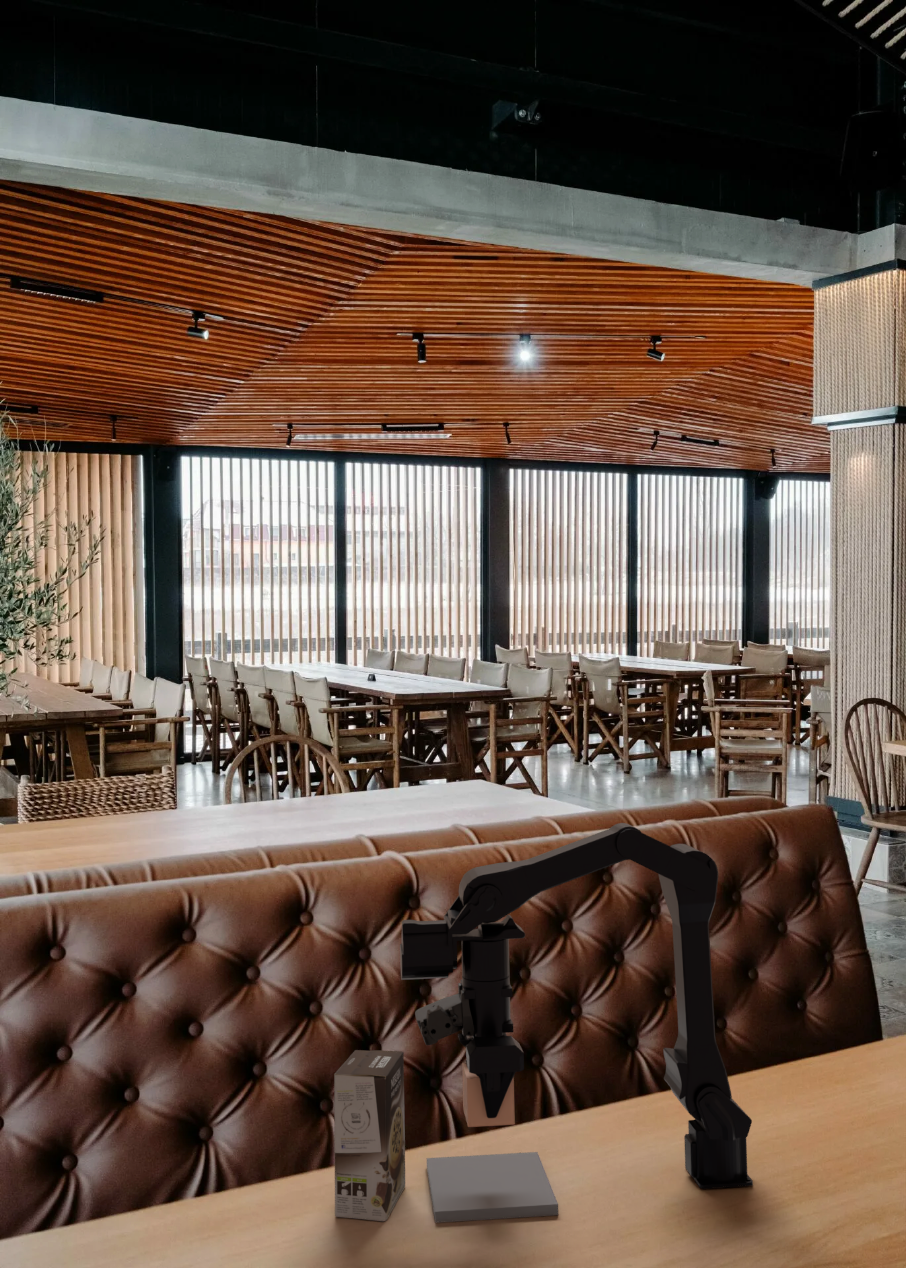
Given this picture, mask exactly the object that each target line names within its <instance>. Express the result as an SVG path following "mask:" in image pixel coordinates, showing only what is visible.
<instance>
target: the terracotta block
mask: <svg viewBox="0 0 906 1268" xmlns="http://www.w3.org/2000/svg"><path fill="white" fill-rule="evenodd" d="M514 1078H515V1076H514V1077H513V1079H512V1081H511V1083H510V1086H509V1088H508V1090H507V1093H506V1095H505V1097H504V1100H503V1102H502V1105H501V1107H500V1110H499V1112H498V1115H497V1117H496V1118H488V1117H487V1115H486V1110H485V1105H484V1100H483V1095H482V1090H481V1085H480V1080H479V1077H478V1076H477V1075H476V1074H473V1073H470V1072H469V1069H468V1067H467V1064H466V1062H462V1104H463V1106H462V1109H463V1110H462V1111H463V1113H464V1116H465V1117H464V1118H465V1121H466V1123H467V1124H466V1125H467V1127H468V1128H476V1127H493V1126H511V1125H515V1124H516V1120H515V1081H514V1080H515V1079H514Z"/></svg>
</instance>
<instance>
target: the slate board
mask: <svg viewBox="0 0 906 1268" xmlns="http://www.w3.org/2000/svg"><path fill="white" fill-rule="evenodd" d="M426 1171H427V1172H426V1173H427V1180H428V1183H429V1184H428V1185H429V1186H428V1187H429V1192H430V1198H431V1205H432V1210H433V1218H434V1223H435V1224H436V1223H437V1224H438V1223H451V1222H453V1223H454V1222H468V1221H484V1220H499V1219H500V1220H501V1219H514V1218H515V1219H516V1218H518V1219H519V1218H530V1217H531V1218H534V1217H547V1216H548V1217H549V1216H550V1217H551V1216H559V1202H558V1200H557V1198H556V1196H555V1192H554V1190H553V1187H552V1185H551V1182H550V1179H549V1177H548V1176H547V1172H546V1170H545V1167H544V1164H543V1162H542V1159H541V1157H540V1154H539V1153H538V1151H530V1152H511V1153H494V1154H478V1155H473V1154H472V1155H460V1156H456V1155H455V1156H441V1157H427V1158H426Z"/></svg>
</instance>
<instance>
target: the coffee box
mask: <svg viewBox="0 0 906 1268" xmlns="http://www.w3.org/2000/svg"><path fill="white" fill-rule="evenodd" d="M404 1053H405V1052H404V1051H403V1050H402V1051H399V1050H374V1049H373V1050H363V1049H362V1050H361V1049H359V1050H358V1049H355V1050H354V1051H353V1052H352V1053H351V1054H350V1055H349V1057H348V1058H347V1059H346V1061H344V1063H342V1064H341V1066H340V1067H339V1068H338V1069H337V1070H336V1072H335V1073H334V1074H333V1075H334V1076H333V1077H334V1081H333V1083H334V1084H333V1085H334V1088H333V1090H334V1093H333V1095H334V1096H333V1097H334V1099H333V1101H334V1105H333V1106H334V1107H333V1108H334V1109H333V1110H334V1112H333V1113H334V1115H333V1117H334V1123H333V1124H334V1132H333V1133H334V1135H333V1136H334V1216H335V1217H337V1218H346V1219H347V1218H349V1219H357V1220H365V1221H366V1220H368V1221H376V1222H377V1221H378V1222H385V1221H387V1220H388V1218H389V1217H390V1214H391V1213H392V1211H393V1209H394V1207H395V1206H396V1204H397V1202H398V1201H399V1198H400V1197H401V1195H402V1193H403V1191H404V1189H405V1187H406V1147H405V1146H406V1140H405V1137H406V1135H405V1133H406V1132H405V1130H406V1129H405V1068H404V1067H405V1066H404V1064H405V1062H404V1056H405V1055H404Z"/></svg>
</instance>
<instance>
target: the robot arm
mask: <svg viewBox="0 0 906 1268" xmlns="http://www.w3.org/2000/svg"><path fill="white" fill-rule="evenodd" d="M624 861H631V862H634V863H636V864H638V865H639V866H642V867H644V868H645V869H648V870H650V871H652V872H654V873H657V874H658V878H659V879H658V880H659V884H660V888H661V891H662V895H663V898H664V902H665V904H666V907H667V909H668V912H669V915H670V917H671V918H670V919H671V924H672V925H671V926H672V938H673V939H672V941H673V958H674V978H675V993H676V1011H677V1027H678V1029H677V1030H678V1033H677V1038H676V1042H675V1044H674V1046H673V1048H671V1047H663V1048H662V1049H663V1050H662V1051H663V1057H664V1061H665V1065H666V1066H665V1074H664V1076H663V1080H664V1081H665V1082H666V1083H667V1085H668V1087H670V1089H671V1092H672V1093H673V1095H674V1096H675V1098H676V1099H677V1100H678V1101H679V1103H680V1104H681V1106H683V1107H684V1109H685V1110H686V1111H687V1113H688V1114H689V1115H690V1116H691V1117H692V1118H693V1119H689V1120H687V1123H688V1127H687V1128H688V1133H685V1135H683V1136H684V1168H685V1169H686V1171H687V1172H688V1174H689V1175H690V1177H692V1178H693V1181H694V1182H695V1183H696V1184H697V1186H698V1187H699V1188H701V1189H705V1190H706V1189H721V1188H723V1189H724V1188H735V1187H736V1188H737V1187H738V1188H739V1187H751V1186H754V1184H753V1183H754V1182H753V1181H754V1180H753V1179H752V1178H751V1176H750V1175H749V1174H748V1158H747V1157H748V1149H747V1137H748V1136H749V1134H750V1129H751V1126H752V1122H753V1121H752V1119H751V1117H750V1116H749V1115H748V1114H747V1113H746V1112H745V1111H744V1110H743V1109H742V1108H741V1106H739V1105H738V1103H737V1102H736V1101H735V1100H734V1099H733V1096H732V1090H731V1086H730V1082H729V1077H728V1073H727V1069H726V1066H725V1063H724V1061H723V1057H722V1055H721V1052H720V1050H719V1047H718V1043H717V1040H716V1028H715V1027H716V1026H715V1009H714V995H713V994H714V992H713V990H714V989H713V977H712V976H713V975H712V959H711V942H710V920H711V918H712V913H713V911H714V908H715V905H716V902H717V893H718V883H719V869H718V865H717V863H716V861H715V860H713V858H712V857H710V855H709V854H708V853H706V852H703V851H701V850H698V849H697V848H695V847H693V846H691V845H688V844H686V843H676V844H671V845H669V844H667V843H664V842H662V841H660V840H658V839H656V838H653V837H652V836H649V835H648V834H645V833H643V832H642V831H641V830H640V829H639V828H637V827H634V826H633V825H631V824H629V823H625V822H620V823H616V824H614V825H612V826H611V827H610V828H607V829H605V830H603V831H601V832H600V831H599V832H598V833H595V834H591V835H589V836H587V837H584V838H580V839H578V840H576V841H573V842H571V843H570V842H569V843H568V844H565V845H562V846H560V847H557V848H554V849H552V850H548V851H545V852H544V853H541V854H539V855H536V856H533V857H530V858H528V859H523V860H517V861H506V862H505V861H503V862H498V863H492V864H486V865H480V866H476V867H473V868H471V869H469V870H467V872H465V873H464V874H463V876H462V878H461V880H460V883H459V885H458V895H457V897H456V898H455V900H454V901H453V903H452V904H451V905H450V907H449V908H448V909H447V911H446V913H445V914H444V916H443V919H439V920H438V919H437V920H436V919H435V920H416V919H415V920H414V919H403V920H402V921H401V943H400V944H399V956H400V957H399V964H400V965H399V966H400V980H401V981H403V980H404V981H405V980H424V979H446V978H449V974H453V973H454V970H455V969H457V968H458V942H461V979H460V981H459V982H458V983H457V993H456V994H453V995H451V996H447V997H443V998H440V999H438V1000H436V1001H434V1002H432V1003H429V1004H427V1005H425V1006H422V1007H419V1008H418V1009H416V1010H415V1012H414V1015H415V1019H416V1020H415V1021H416V1023H417V1026H418V1028H419V1031H420V1033H421V1036H422V1039H423V1041H424V1043H425V1045H426V1046H433V1045H434V1044H436V1043H438V1041H440V1040H442V1039H444V1038H446V1037H449V1036H452V1035H455V1034H456V1033H458V1032H460V1031H461V1033H458V1034H457V1037H458V1040H459V1043H460V1044H461V1045H462V1046H463V1047H465V1052H466V1053H465V1056H466V1059H465V1063H466V1064H467V1067H468V1069H469V1072H470V1073H473V1074H476V1075H477V1076H478V1077H479V1080H480V1085H481V1090H482V1095H483V1100H484V1105H485V1110H486V1115H487V1117H488V1118H496V1117H497V1115H498V1112H499V1110H500V1107H501V1105H502V1102H503V1100H504V1097H505V1095H506V1093H507V1090H508V1088H509V1086H510V1083H511V1081H512V1079H513V1077H514V1078H515V1074H516V1073H517V1072H519V1073H520V1072H522V1071H524V1070H525V1054H524V1053H525V1052H524V1051H523V1048H522V1046H521V1045H520V1043H519V1041H517V1040H516V1038H514V1037H513V1036H512V1035H507V1034H508V1033H514V1022H513V1020H512V1018H511V998H513V987H512V985H511V981H510V978H511V976H510V975H511V974H510V944H509V943H510V941H509V940H515V939H524V938H525V937H526V933H525V931H524V929H523V928H522V927H521V926H520V925H518V924H517V923H516V922H515V921H514V919H513V917H512V915H510V914H512V913H513V912H515V911H517V910H518V909H519V908H521V907H522V906H524V905H525V904H526V903H527V902H529V900H530V901H531V899H532V898H533V897H535V896H536V895H539V894H540V893H543V892H545V891H547V890H550V889H553V888H555V887H558V886H560V885H563V884H565V883H568V882H570V881H574V880H577V879H579V878H581V877H584V876H587V875H590V874H592V873H594V872H595V873H596V872H598V871H600V870H602V869H606V868H608V867H610V866H613V865H616V864H620V863H621V862H624ZM503 918H504V919H503ZM501 919H502V920H501ZM499 920H501V921H499ZM497 921H498V922H497ZM477 927H478V928H477Z"/></svg>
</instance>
